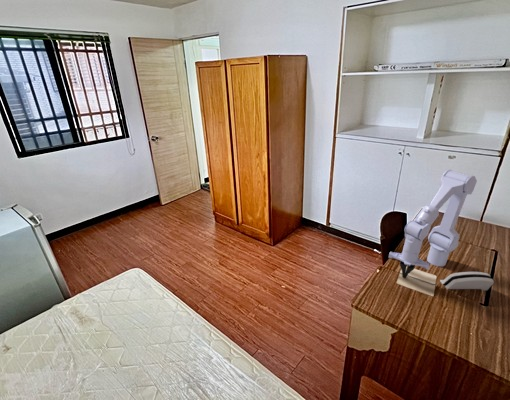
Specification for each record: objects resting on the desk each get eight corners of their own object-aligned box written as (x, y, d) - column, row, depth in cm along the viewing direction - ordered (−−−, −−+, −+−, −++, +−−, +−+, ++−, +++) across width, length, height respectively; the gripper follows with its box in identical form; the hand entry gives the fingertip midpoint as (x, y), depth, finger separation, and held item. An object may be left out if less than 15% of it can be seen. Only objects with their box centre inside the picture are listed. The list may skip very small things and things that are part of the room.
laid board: (402, 267, 122) (402, 264, 121) (435, 278, 115) (436, 275, 114) (399, 275, 117) (399, 273, 116) (434, 287, 110) (435, 285, 109)
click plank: (398, 276, 117) (399, 273, 116) (434, 288, 110) (435, 285, 109) (395, 285, 111) (396, 283, 111) (432, 298, 104) (433, 296, 104)
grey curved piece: (478, 281, 113) (492, 268, 105) (485, 292, 109) (500, 279, 102) (437, 281, 113) (448, 269, 106) (442, 292, 110) (454, 280, 103)
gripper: (389, 248, 109) (383, 275, 115) (431, 261, 101) (423, 289, 107) (393, 240, 114) (387, 266, 120) (433, 251, 107) (425, 278, 112)
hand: (404, 276), depth 114 cm, fingers closed
